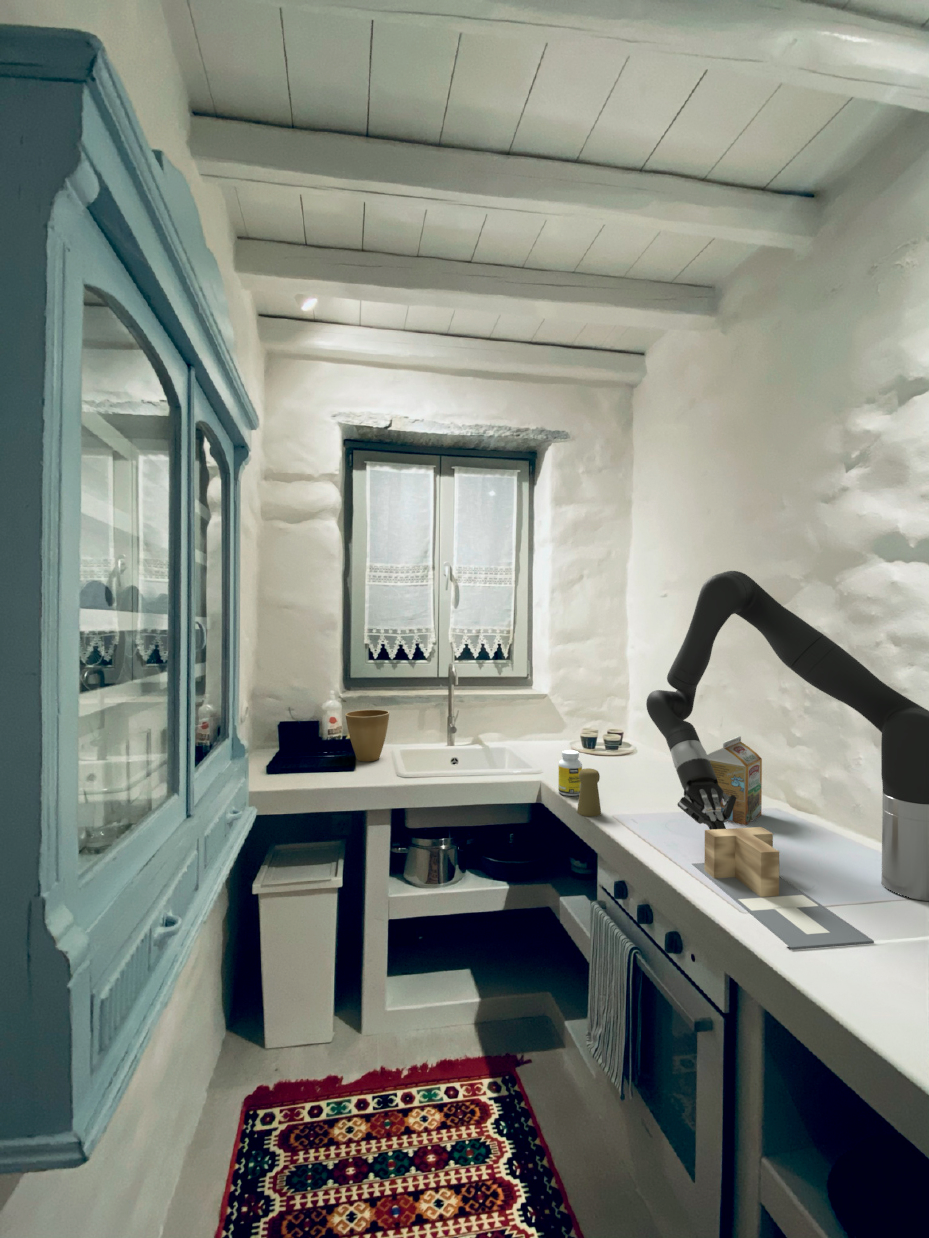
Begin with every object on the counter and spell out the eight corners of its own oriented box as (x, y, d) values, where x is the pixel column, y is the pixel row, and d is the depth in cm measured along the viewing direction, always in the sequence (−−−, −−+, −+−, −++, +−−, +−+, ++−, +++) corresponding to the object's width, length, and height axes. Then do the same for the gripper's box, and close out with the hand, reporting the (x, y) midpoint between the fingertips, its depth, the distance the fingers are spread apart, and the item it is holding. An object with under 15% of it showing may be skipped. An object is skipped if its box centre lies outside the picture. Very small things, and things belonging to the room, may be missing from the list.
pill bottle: (563, 797, 165) (563, 755, 164) (555, 790, 171) (555, 749, 171) (585, 795, 166) (585, 754, 166) (576, 789, 172) (576, 748, 172)
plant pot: (391, 753, 214) (390, 708, 214) (387, 764, 200) (387, 716, 199) (348, 754, 214) (348, 709, 213) (342, 765, 199) (342, 716, 198)
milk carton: (719, 804, 158) (719, 732, 158) (761, 814, 151) (762, 739, 150) (701, 814, 151) (702, 739, 151) (745, 825, 143) (745, 746, 143)
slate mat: (756, 861, 123) (756, 859, 123) (873, 943, 93) (873, 940, 93) (691, 865, 121) (691, 863, 121) (790, 949, 91) (790, 947, 91)
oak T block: (761, 866, 119) (761, 826, 119) (800, 894, 108) (801, 850, 108) (704, 870, 118) (704, 829, 118) (738, 898, 106) (738, 853, 106)
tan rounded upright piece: (584, 806, 157) (584, 764, 157) (605, 811, 153) (605, 768, 153) (572, 813, 152) (572, 769, 152) (594, 818, 148) (594, 773, 148)
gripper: (670, 757, 131) (698, 834, 119) (727, 755, 132) (761, 831, 120) (659, 775, 136) (685, 850, 124) (714, 773, 138) (745, 847, 126)
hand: (722, 841), depth 122 cm, fingers closed
